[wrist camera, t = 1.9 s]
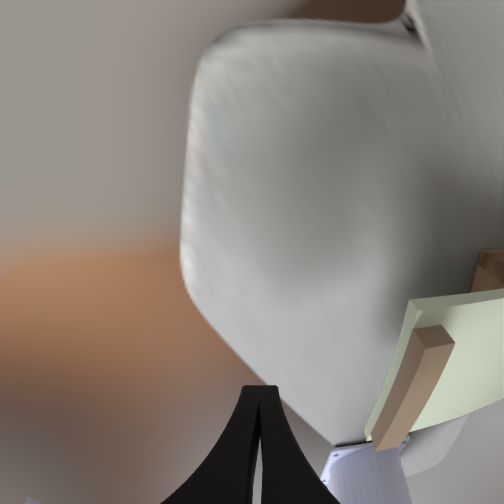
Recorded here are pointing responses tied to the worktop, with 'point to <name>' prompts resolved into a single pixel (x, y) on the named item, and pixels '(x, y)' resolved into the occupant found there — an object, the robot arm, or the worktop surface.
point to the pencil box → (489, 271)
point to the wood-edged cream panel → (441, 365)
